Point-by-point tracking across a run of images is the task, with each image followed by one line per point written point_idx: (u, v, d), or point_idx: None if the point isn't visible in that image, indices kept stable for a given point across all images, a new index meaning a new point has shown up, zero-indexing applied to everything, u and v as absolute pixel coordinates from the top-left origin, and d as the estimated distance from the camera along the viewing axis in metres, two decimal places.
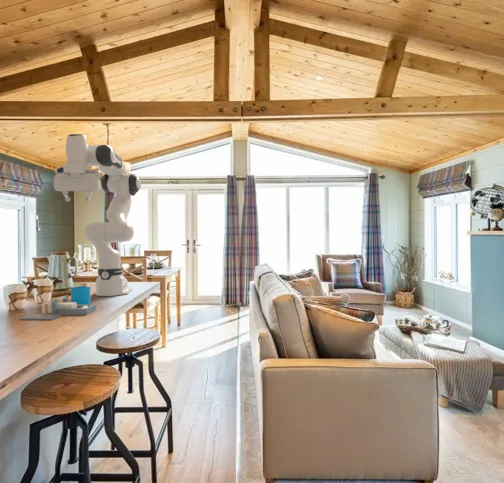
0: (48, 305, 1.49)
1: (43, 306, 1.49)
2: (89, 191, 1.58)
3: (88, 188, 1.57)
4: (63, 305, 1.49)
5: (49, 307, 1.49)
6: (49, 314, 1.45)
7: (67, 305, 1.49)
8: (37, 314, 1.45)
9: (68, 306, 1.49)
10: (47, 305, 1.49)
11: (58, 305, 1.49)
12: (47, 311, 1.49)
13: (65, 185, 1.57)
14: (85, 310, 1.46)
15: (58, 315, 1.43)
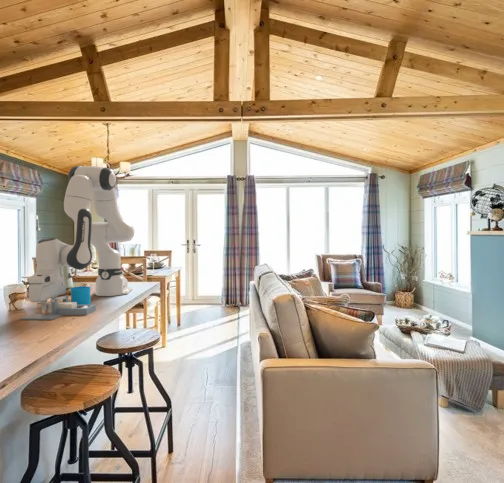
0: (48, 305, 1.49)
1: None
2: (57, 296, 1.55)
3: (61, 292, 1.57)
4: (63, 305, 1.49)
5: (49, 307, 1.49)
6: (49, 314, 1.45)
7: (67, 305, 1.49)
8: (37, 314, 1.45)
9: (68, 305, 1.49)
10: None
11: (58, 305, 1.49)
12: (47, 311, 1.49)
13: (46, 294, 1.46)
14: (85, 310, 1.46)
15: (58, 315, 1.43)
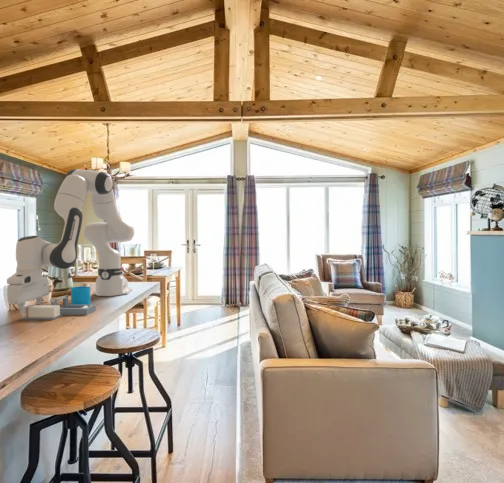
0: (29, 308, 1.40)
1: None
2: (41, 297, 1.48)
3: (44, 294, 1.48)
4: (45, 308, 1.40)
5: (30, 310, 1.40)
6: None
7: (49, 308, 1.40)
8: None
9: (50, 309, 1.40)
10: (28, 308, 1.40)
11: (39, 308, 1.40)
12: (28, 315, 1.40)
13: (26, 296, 1.37)
14: (85, 310, 1.46)
15: None
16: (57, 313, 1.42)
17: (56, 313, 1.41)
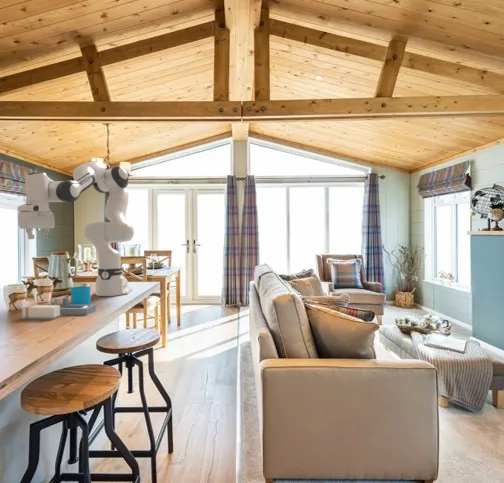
0: (29, 308, 1.40)
1: (23, 309, 1.40)
2: (48, 229, 1.65)
3: (50, 226, 1.65)
4: (45, 308, 1.40)
5: (30, 310, 1.40)
6: None
7: (49, 308, 1.40)
8: None
9: (50, 309, 1.40)
10: (28, 308, 1.40)
11: (39, 308, 1.40)
12: (28, 315, 1.40)
13: (34, 223, 1.54)
14: (85, 310, 1.46)
15: None
16: (57, 313, 1.42)
17: (56, 313, 1.41)
